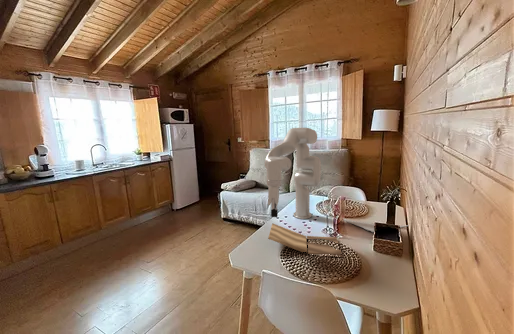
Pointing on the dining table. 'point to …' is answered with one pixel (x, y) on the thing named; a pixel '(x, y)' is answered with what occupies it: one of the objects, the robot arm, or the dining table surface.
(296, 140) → the robot arm
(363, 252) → the dining table surface
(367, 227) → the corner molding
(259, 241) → the dining table surface
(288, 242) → the oak plank
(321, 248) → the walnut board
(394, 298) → the dining table surface
